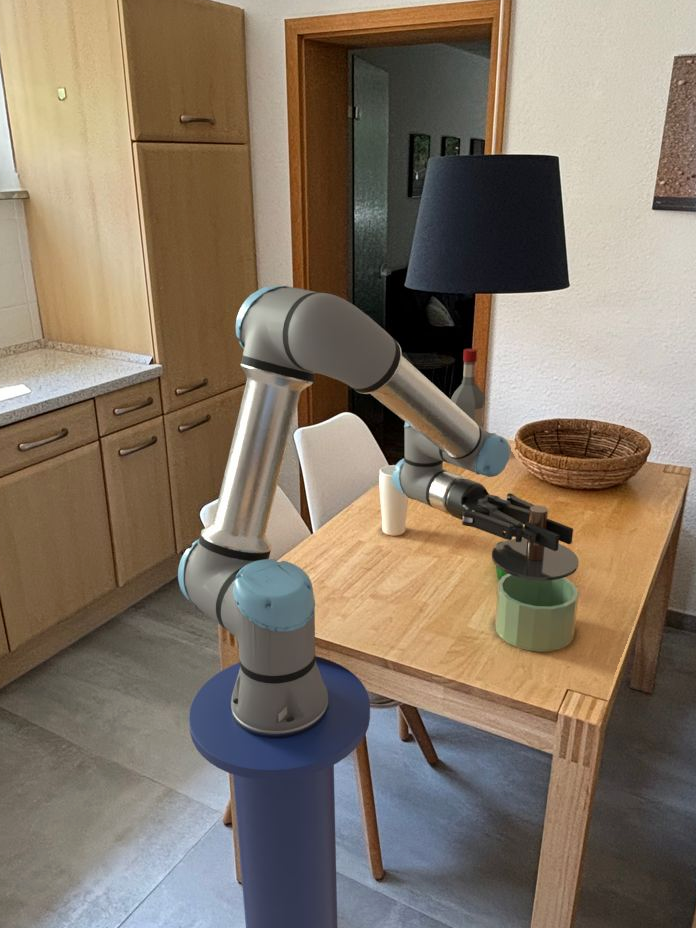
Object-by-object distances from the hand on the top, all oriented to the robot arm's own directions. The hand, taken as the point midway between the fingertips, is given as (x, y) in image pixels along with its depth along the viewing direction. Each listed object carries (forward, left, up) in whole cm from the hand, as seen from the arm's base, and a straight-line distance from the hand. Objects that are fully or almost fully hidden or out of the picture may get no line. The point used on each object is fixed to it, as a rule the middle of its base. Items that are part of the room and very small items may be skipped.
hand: (564, 539), depth 127 cm
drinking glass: (-43, +28, -20) cm, 55 cm away
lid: (-5, +2, -6) cm, 8 cm away
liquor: (-46, +86, -20) cm, 100 cm away
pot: (-4, +2, -20) cm, 20 cm away
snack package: (-13, +20, -20) cm, 31 cm away
